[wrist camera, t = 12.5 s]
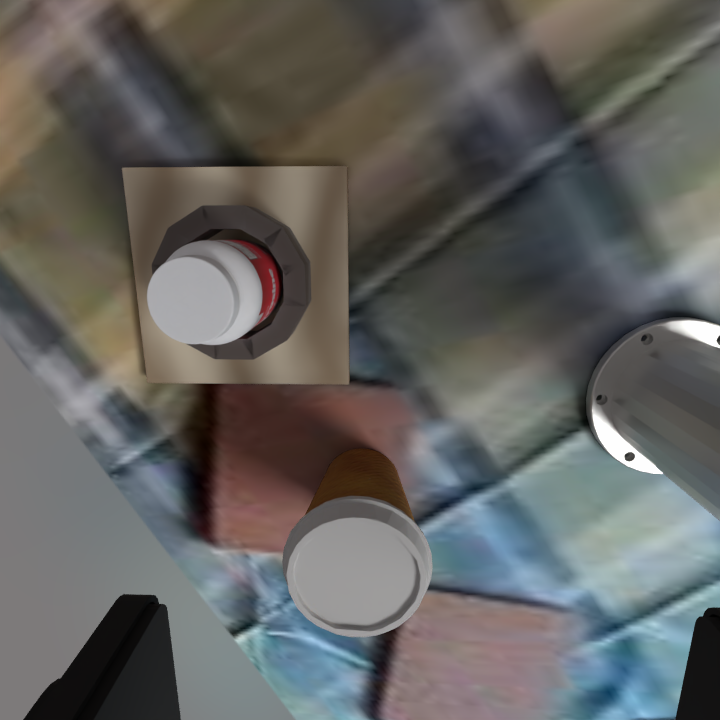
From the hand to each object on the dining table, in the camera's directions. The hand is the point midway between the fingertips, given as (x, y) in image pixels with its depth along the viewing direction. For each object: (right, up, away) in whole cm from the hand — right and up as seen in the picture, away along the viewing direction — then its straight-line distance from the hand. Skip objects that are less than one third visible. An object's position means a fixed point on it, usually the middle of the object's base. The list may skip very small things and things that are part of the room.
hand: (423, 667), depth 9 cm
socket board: (-10, +12, +29) cm, 32 cm away
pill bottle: (-10, +11, +28) cm, 32 cm away
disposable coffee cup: (-1, -5, +33) cm, 33 cm away
